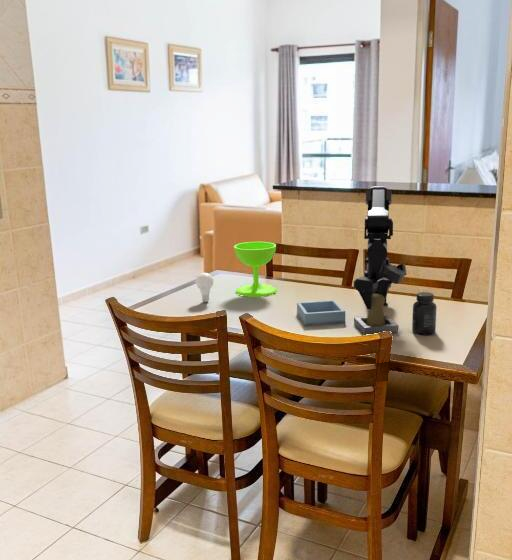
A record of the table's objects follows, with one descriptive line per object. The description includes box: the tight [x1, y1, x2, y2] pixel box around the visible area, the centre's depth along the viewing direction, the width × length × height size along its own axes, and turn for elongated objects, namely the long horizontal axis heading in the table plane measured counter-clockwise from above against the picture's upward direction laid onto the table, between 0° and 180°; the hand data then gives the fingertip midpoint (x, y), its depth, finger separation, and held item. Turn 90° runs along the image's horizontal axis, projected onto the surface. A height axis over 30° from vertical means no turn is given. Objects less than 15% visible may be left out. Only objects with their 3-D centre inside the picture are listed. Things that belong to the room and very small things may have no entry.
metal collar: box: [353, 314, 399, 336], centre depth 189 cm, size 11×11×2 cm
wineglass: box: [233, 241, 278, 298], centre depth 233 cm, size 16×16×18 cm
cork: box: [366, 294, 385, 326], centre depth 188 cm, size 6×6×11 cm
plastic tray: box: [296, 299, 346, 327], centre depth 200 cm, size 13×13×4 cm
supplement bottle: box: [411, 291, 438, 337], centre depth 184 cm, size 7×7×12 cm
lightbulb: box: [195, 272, 214, 303], centre depth 222 cm, size 6×6×11 cm
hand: (376, 305), depth 187 cm, fingers open, 9 cm apart
